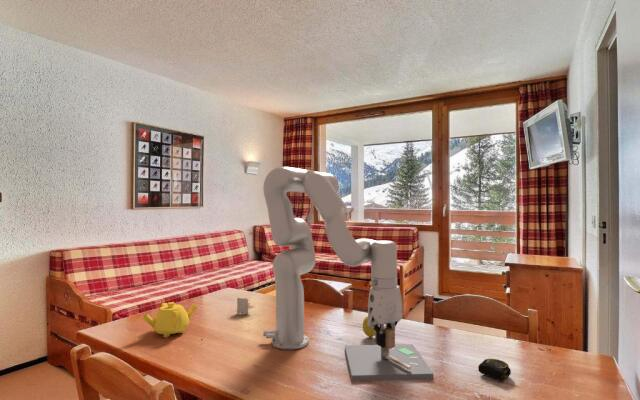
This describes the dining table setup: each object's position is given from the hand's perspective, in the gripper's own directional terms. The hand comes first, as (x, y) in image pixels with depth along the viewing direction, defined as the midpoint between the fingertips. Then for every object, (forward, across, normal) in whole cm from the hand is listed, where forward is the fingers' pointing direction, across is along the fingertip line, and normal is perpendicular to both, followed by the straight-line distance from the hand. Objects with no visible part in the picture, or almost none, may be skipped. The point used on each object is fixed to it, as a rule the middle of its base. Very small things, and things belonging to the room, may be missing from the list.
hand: (384, 344), depth 106 cm
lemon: (+6, +9, +18) cm, 21 cm away
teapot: (+6, -49, +63) cm, 80 cm away
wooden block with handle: (+4, 0, -3) cm, 5 cm away
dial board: (+6, 0, 0) cm, 6 cm away
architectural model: (+6, -19, +69) cm, 72 cm away
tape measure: (+6, +19, -23) cm, 30 cm away
